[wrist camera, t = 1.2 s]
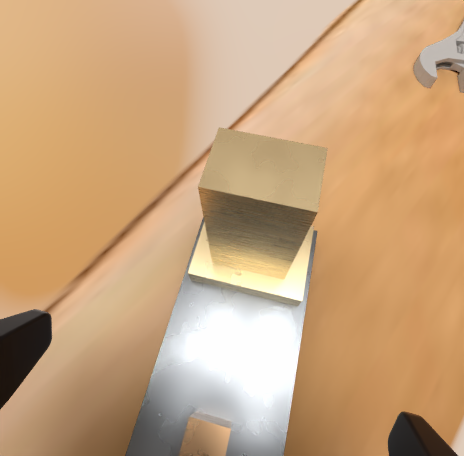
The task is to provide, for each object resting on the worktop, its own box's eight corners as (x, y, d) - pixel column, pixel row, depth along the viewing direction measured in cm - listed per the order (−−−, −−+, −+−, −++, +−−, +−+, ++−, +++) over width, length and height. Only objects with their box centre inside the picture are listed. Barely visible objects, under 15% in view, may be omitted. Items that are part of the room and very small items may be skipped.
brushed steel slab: (269, 505, 17) (282, 549, 13) (131, 461, 18) (97, 488, 14) (311, 242, 24) (328, 210, 20) (208, 219, 25) (203, 183, 20)
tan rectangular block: (297, 306, 20) (350, 244, 11) (190, 280, 21) (157, 202, 12) (309, 235, 22) (360, 135, 13) (211, 214, 23) (197, 105, 14)
